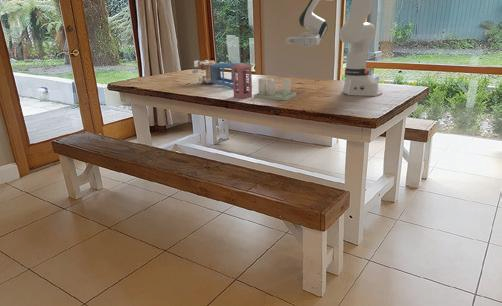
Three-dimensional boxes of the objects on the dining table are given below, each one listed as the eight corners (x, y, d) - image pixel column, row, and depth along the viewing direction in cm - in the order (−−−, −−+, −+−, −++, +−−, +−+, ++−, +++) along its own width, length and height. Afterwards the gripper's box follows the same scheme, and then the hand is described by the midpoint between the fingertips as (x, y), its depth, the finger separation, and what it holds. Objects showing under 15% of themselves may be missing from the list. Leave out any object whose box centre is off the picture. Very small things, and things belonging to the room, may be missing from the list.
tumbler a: (276, 96, 221) (276, 79, 218) (273, 98, 218) (272, 80, 214) (269, 96, 224) (269, 78, 220) (265, 97, 220) (265, 80, 216)
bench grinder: (206, 57, 284) (253, 61, 257) (207, 80, 290) (254, 86, 263) (188, 60, 272) (236, 64, 245) (190, 83, 278) (237, 90, 251)
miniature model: (245, 96, 231) (243, 61, 224) (253, 98, 223) (252, 63, 216) (232, 98, 226) (230, 63, 219) (240, 100, 219) (238, 65, 212)
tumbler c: (291, 96, 222) (291, 78, 218) (288, 97, 218) (288, 79, 215) (284, 95, 224) (284, 78, 221) (280, 96, 220) (280, 79, 217)
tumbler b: (268, 96, 224) (267, 78, 221) (264, 97, 220) (264, 80, 217) (261, 95, 226) (260, 78, 223) (257, 97, 223) (256, 79, 219)
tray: (296, 96, 223) (296, 92, 223) (285, 101, 212) (285, 97, 211) (265, 94, 233) (265, 90, 232) (254, 98, 222) (254, 94, 221)
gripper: (291, 34, 242) (281, 36, 231) (321, 34, 232) (313, 35, 221) (291, 45, 245) (281, 47, 234) (321, 44, 234) (313, 47, 223)
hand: (297, 41), depth 227 cm, fingers open, 8 cm apart
